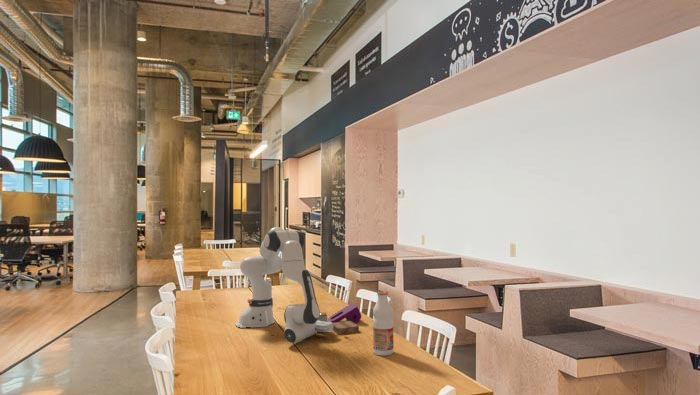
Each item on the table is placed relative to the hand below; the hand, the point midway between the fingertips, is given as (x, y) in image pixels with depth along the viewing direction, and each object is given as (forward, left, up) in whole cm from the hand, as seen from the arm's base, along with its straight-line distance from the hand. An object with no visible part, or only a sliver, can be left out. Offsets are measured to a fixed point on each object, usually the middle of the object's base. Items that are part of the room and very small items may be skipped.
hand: (322, 321), depth 244 cm
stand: (+12, -2, -6) cm, 13 cm away
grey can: (0, 0, -6) cm, 6 cm away
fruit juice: (+15, -44, -6) cm, 47 cm away
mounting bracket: (+18, +14, -6) cm, 23 cm away
